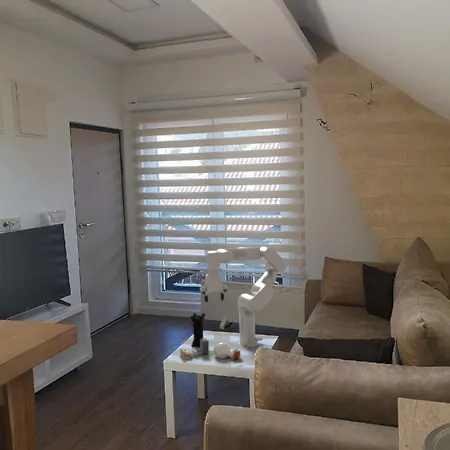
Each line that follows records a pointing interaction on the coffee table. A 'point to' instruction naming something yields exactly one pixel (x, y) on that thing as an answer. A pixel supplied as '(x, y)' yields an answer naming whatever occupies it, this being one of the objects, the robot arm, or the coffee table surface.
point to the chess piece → (197, 329)
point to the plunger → (202, 348)
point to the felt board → (204, 355)
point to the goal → (185, 354)
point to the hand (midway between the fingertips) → (214, 301)
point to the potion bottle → (226, 351)
